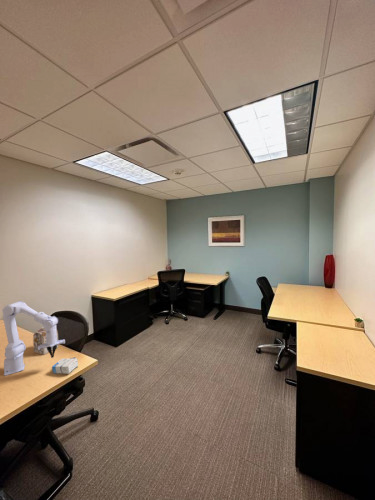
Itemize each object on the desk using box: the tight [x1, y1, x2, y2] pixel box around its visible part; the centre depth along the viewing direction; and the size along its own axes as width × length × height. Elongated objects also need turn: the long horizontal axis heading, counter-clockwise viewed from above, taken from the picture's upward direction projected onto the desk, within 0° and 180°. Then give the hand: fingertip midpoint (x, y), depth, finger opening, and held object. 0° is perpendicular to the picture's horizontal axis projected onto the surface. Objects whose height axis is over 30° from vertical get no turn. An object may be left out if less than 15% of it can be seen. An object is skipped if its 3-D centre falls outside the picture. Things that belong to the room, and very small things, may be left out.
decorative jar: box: [32, 326, 59, 355], centre depth 155 cm, size 12×12×18 cm
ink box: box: [51, 357, 79, 374], centre depth 130 cm, size 8×5×12 cm
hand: (52, 356), depth 130 cm, fingers closed
